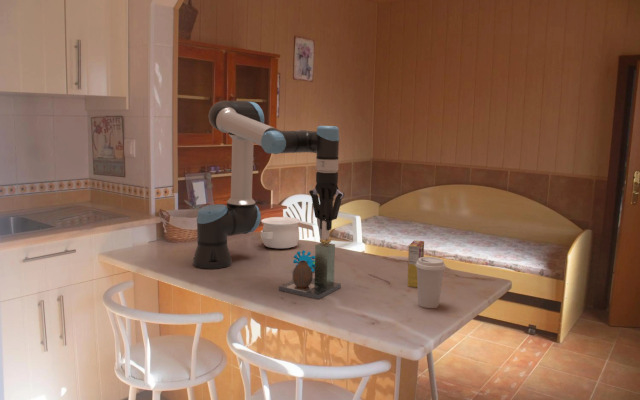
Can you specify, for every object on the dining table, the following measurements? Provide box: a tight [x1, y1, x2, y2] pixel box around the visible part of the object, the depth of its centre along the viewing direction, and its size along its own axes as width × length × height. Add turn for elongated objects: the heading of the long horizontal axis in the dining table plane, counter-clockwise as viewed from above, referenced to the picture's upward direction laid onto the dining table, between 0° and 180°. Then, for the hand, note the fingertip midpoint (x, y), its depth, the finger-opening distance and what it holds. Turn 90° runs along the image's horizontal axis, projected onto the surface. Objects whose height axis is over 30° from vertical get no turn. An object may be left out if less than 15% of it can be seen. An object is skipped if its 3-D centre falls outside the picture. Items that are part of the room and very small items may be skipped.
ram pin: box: [319, 238, 332, 246], centre depth 192 cm, size 4×4×11 cm
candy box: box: [407, 239, 425, 289], centre depth 200 cm, size 9×4×15 cm, turn 158°
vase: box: [291, 261, 314, 288], centre depth 188 cm, size 7×7×9 cm
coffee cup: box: [415, 256, 447, 309], centre depth 178 cm, size 10×10×15 cm
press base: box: [278, 242, 342, 300], centre depth 191 cm, size 16×15×16 cm
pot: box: [260, 216, 301, 250], centre depth 251 cm, size 22×17×12 cm
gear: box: [292, 249, 315, 273], centre depth 215 cm, size 11×6×10 cm
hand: (325, 238), depth 191 cm, fingers closed
